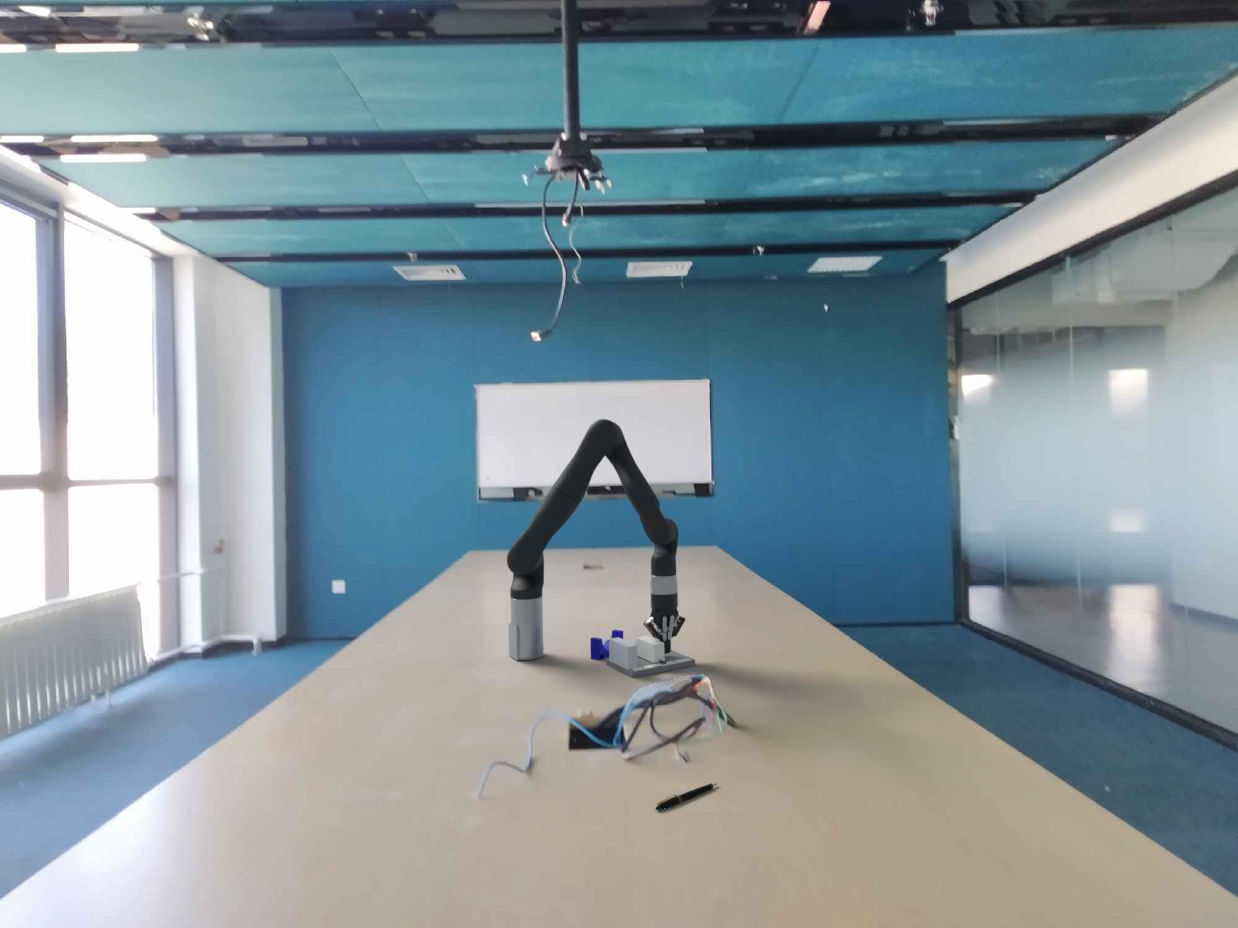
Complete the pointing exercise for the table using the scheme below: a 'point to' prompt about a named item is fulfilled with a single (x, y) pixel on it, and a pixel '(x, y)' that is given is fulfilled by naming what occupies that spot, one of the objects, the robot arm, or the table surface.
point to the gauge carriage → (650, 649)
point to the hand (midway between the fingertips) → (665, 652)
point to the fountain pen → (683, 797)
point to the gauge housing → (641, 660)
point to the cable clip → (602, 646)
